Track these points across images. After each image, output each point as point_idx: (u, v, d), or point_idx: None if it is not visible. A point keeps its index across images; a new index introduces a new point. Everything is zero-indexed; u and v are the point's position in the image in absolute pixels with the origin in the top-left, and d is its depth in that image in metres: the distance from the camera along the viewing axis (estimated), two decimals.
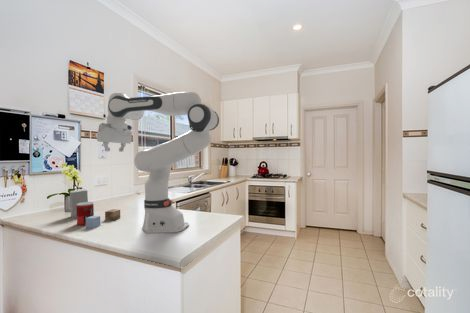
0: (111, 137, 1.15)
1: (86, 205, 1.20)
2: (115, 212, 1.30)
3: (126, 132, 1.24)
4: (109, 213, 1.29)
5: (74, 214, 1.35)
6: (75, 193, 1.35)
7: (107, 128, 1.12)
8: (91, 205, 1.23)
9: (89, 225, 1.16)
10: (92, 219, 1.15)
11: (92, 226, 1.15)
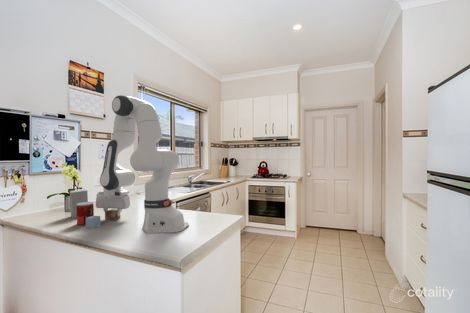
0: (103, 204, 1.31)
1: (86, 205, 1.20)
2: (115, 212, 1.30)
3: (117, 198, 1.28)
4: (109, 213, 1.29)
5: (74, 214, 1.35)
6: (75, 193, 1.35)
7: (99, 196, 1.31)
8: (91, 205, 1.23)
9: (89, 225, 1.16)
10: (92, 219, 1.15)
11: (92, 226, 1.15)
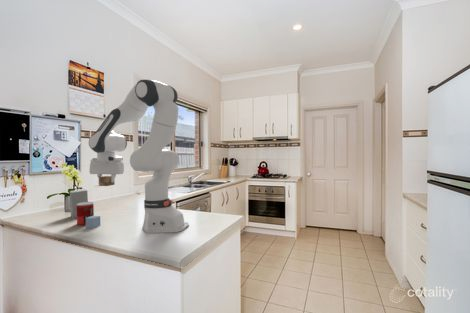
0: (97, 169, 1.29)
1: (86, 205, 1.20)
2: (109, 178, 1.28)
3: (111, 163, 1.27)
4: (103, 178, 1.27)
5: (74, 214, 1.35)
6: (75, 193, 1.35)
7: (93, 162, 1.30)
8: (91, 205, 1.23)
9: (89, 225, 1.16)
10: (92, 219, 1.15)
11: (92, 226, 1.15)
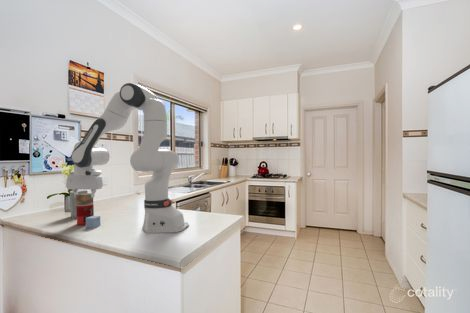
0: (74, 184, 1.22)
1: (86, 205, 1.20)
2: (87, 195, 1.22)
3: (88, 178, 1.20)
4: (80, 196, 1.21)
5: (74, 214, 1.35)
6: None
7: (69, 176, 1.23)
8: (91, 205, 1.23)
9: (89, 225, 1.16)
10: (92, 219, 1.15)
11: (92, 226, 1.15)
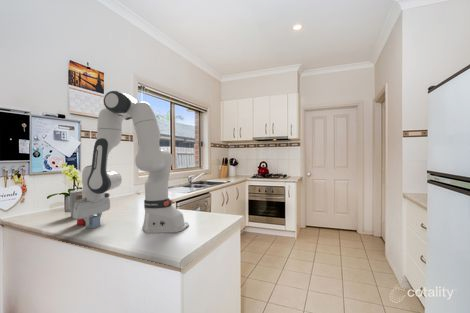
0: (88, 211, 1.13)
1: None
2: None
3: (104, 200, 1.22)
4: (80, 196, 1.21)
5: None
6: (75, 193, 1.35)
7: (83, 204, 1.10)
8: None
9: None
10: (92, 219, 1.15)
11: (92, 226, 1.15)
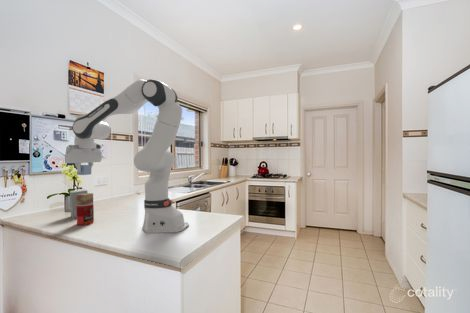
0: (80, 158, 1.17)
1: (86, 205, 1.20)
2: (87, 195, 1.22)
3: (95, 151, 1.27)
4: (80, 196, 1.21)
5: (74, 214, 1.35)
6: (75, 193, 1.35)
7: (75, 149, 1.15)
8: (91, 205, 1.23)
9: (80, 172, 1.20)
10: (83, 166, 1.20)
11: (83, 173, 1.19)
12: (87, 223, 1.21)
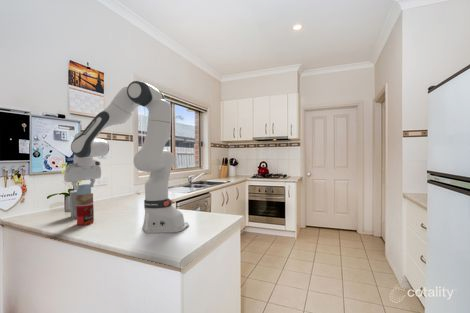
0: (79, 176, 1.19)
1: (86, 205, 1.20)
2: (87, 195, 1.22)
3: (94, 168, 1.28)
4: (80, 196, 1.21)
5: (74, 214, 1.35)
6: (75, 193, 1.35)
7: (74, 168, 1.16)
8: (91, 205, 1.23)
9: (80, 191, 1.21)
10: (83, 186, 1.21)
11: (83, 193, 1.21)
12: (87, 223, 1.21)
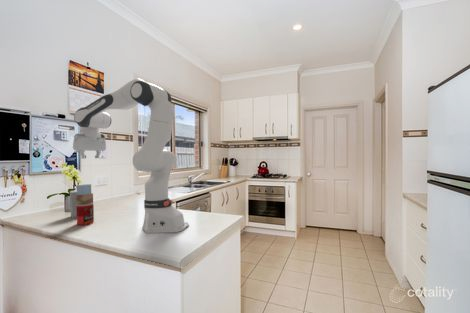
0: (86, 145, 1.29)
1: (86, 205, 1.20)
2: (86, 195, 1.22)
3: (100, 140, 1.39)
4: (80, 196, 1.21)
5: (74, 214, 1.35)
6: (75, 193, 1.35)
7: (82, 138, 1.27)
8: (91, 205, 1.23)
9: (80, 191, 1.21)
10: (83, 186, 1.21)
11: (83, 193, 1.21)
12: (87, 223, 1.21)
